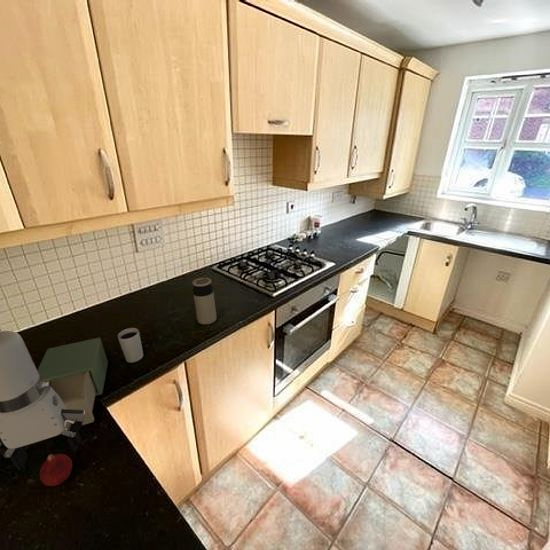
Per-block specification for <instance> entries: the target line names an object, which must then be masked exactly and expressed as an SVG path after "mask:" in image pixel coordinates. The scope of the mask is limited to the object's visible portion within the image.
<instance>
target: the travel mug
mask: <svg viewBox="0 0 550 550" xmlns="http://www.w3.org/2000/svg"><path fill="white" fill-rule="evenodd" d="M191 283H192V284H191V285H193V288H192V295H193V301H194V308H195V313H196V321H197V323H198V324H200V325H211V324H212V323H213V324H214V322H215V321H216V320H218V319H217V309H216V302H215V294H214V287H213V285H212V279H211V278H209V277H199V278H196V279H193V280H192V282H191Z"/></svg>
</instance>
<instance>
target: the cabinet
mask: <svg viewBox="0 0 550 550" xmlns="http://www.w3.org/2000/svg"><path fill="white" fill-rule="evenodd" d="M108 364H109V361H108V358H107V355H106V352H105V348H104V346H103V342H102V339H101V337H96V338H90V339H87V340H86V339H85V340H82V341H78V342H72V343H68V344H63V345H58V346H55V347H50V348H49V347H48V348H47V350H46V352H45V353H44V356H43V358H42V360H41V362H40V364H39V366H38V368H37V371H38V373H39V376H41V377H42V379H43V380H54V379H58V378H62V377H66V376H70V375H74V374H78V373H82V372H86V371H91V374H92V376H93V379H94V382H95V385H96V388H97V389H96V394H95V397H98V396H100V395H103V393H104V386H105V381H106V375H107V369H108Z"/></svg>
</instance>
